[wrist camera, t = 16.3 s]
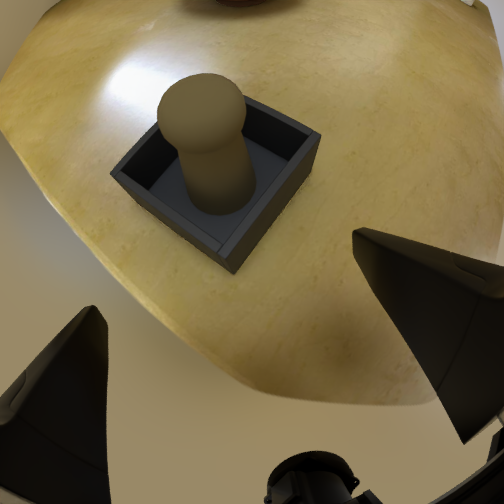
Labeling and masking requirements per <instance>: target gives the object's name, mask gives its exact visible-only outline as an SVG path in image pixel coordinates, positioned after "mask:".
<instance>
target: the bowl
mask: <svg viewBox="0 0 504 504" xmlns="http://www.w3.org/2000/svg"><path fill="white" fill-rule="evenodd" d="M216 1H217V2H218V3H220V4H222V5H226V6H235V7H241V6H251V5H256V4H260V3H262V2H264V1H266V0H216Z"/></svg>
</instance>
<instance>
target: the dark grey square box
mask: <svg viewBox="0 0 504 504" xmlns="http://www.w3.org/2000/svg"><path fill="white" fill-rule="evenodd" d="M243 96H244V100H245V104H246V117H245V121H244V125H243V128H242V130H241V132H242V135H243V138H244V141H245V144H246V147H247V150H248V153H249V156H250V159H251V162H252V165H253V168H254V171H255V176H256V181H257V183H256V189H255V193H254V195H253V196H252V198H251V200H250V202H248V203H247V204H246V205H245V206H244V207H243V208H242V209H240V210H238V211H236V212H234V213H232V214H227V215H221V216H218V215H210V214H207V213H205V212H202V211H200V210H199V209H198V208H197V207H195V206H194V205H193V204H192V202H191V200H190V198H189V196H188V193H187V189H186V185H185V181H184V177H183V172H182V168H181V164H180V159H179V155H178V150H177V149H176V148H175V147H174V146H173V145H172V144H170V143H169V142H168V141H167V140H166V139H165V138H164V136H163V134H162V133H161V130H160V128H159V126H158V122H156V123H155V124H154V125H153V126H152V127H151V128H150V129H149V130H148V131H147V132H146V133H145V134H144V135H143V136H142V137H141V138H140V139H139V141H138V142H137V143H136V144H135V145H134V146H133V147H132V148H131V149H130V150H129V151H128V152H127V154H126V155H125V156H124V157H123V158H122V159H121V160H120V161H119V163H118V164H117V165H116V166H115V167H114V168H113V170H112V171H111V172H110V175H111V176H112V177H113V178H114V179H115V180H116V181H117V182H118V183H119V184H120V185H121V186H122V188H123V189H124V190H125V191H126V192H127V193H128V194H129V195H130V196H131V197H132V198H133V199H134V200H135V201H136V202H137V203H138V204H140V205H141V206H142V207H144V208H145V209H146V210H148V211H149V212H150V213H151V214H153V215H154V216H155V217H157V218H158V219H159V220H161V221H162V222H163V223H165V224H166V225H167V226H168V227H170V228H171V229H172V230H174V231H175V232H176V233H178V234H179V235H180V236H182V237H183V238H184V239H186V240H187V241H188V242H190V243H191V244H192V245H194V246H195V247H197V248H198V249H199V250H201V251H202V252H203V253H205V254H206V255H207V256H209V257H210V258H211V259H213V260H214V261H216V262H217V263H218V264H220V265H221V266H222V267H224V268H225V269H226V270H228V271H229V272H231V273H232V274H233V275H234V274H235V273H236V272H237V270H238V269H239V268H240V266H241V265H242V264H243V262H244V261H245V260H246V258H247V257H248V256H249V254H250V253H251V252H252V250H253V249H254V248H255V246H256V245H257V244H258V242H259V241H260V239H261V238H262V237H263V235H264V234H265V233H266V231H267V230H268V229H269V227H270V226H271V225H272V223H273V222H274V221H275V219H276V218H277V217H278V215H279V214H280V213H281V211H282V210H283V209H284V207H285V206H286V205H287V203H288V202H289V200H290V199H291V198H292V196H293V195H294V194H295V192H296V191H297V190H298V188H299V187H300V186H301V184H302V183H303V182H304V180H305V179H306V178H307V176H308V175H309V174H310V172H311V170H312V166H313V163H314V160H315V156H316V153H317V149H318V146H319V142H320V139H321V134H319V133H317V132H315V131H313V130H312V129H310V128H309V127H307V126H305V125H303V124H301V123H299V122H298V121H296V120H294V119H292V118H290V117H288V116H286V115H284V114H282V113H280V112H278V111H276V110H274V109H272V108H270V107H268V106H266V105H264V104H262V103H260V102H258V101H256V100H253V99H251V98H249V97H247V96H245V95H243Z"/></svg>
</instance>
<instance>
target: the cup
mask: <svg viewBox="0 0 504 504" xmlns="http://www.w3.org/2000/svg"><path fill="white" fill-rule="evenodd" d="M461 1H462V2H464V3H465V4H467V5H469V6H472V4H473V2H474V1H475V0H461Z"/></svg>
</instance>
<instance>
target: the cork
mask: <svg viewBox="0 0 504 504" xmlns="http://www.w3.org/2000/svg"><path fill="white" fill-rule="evenodd" d="M245 117H246V104H245V100H244V96H243V94H242V92H241V91H240V89H239V88H238V87H237V86H236V84H235V83H233V82H232V81H231V80H229V79H227V78H225V77H224V76H221V75H217V74H208V73H202V74H196V75H192V76H189V77H186V78H184V79H181V80H179V81H178V82H176V83H175V84H173V85H172V86H170V88H169V89H168V90H167V91H166V92H165V93H164V94H163V96H162V99H161V101H160V103H159V106H158V109H157V122H158V126H159V128H160V130H161V133H162V134H163V136H164V138H165V139H166V140H167V141H168V142H169V143H170V144H172V145H173V146H174V147H175V148H176V149H177V150H178V155H179V159H180V164H181V168H182V172H183V177H184V181H185V185H186V189H187V193H188V196H189V198H190V200H191V202H192V204H193V205H194V206H195V207H197V208H198V209H199V210H200V211H202V212H205V213H207V214H210V215H218V216H221V215H227V214H232V213H234V212H236V211H238V210H240V209H242V208H243V207H244V206H245V205H246V204H247V203H248V202H250V200H251V198H252V196H253V195H254V193H255V189H256V183H257V181H256V176H255V171H254V168H253V165H252V162H251V159H250V156H249V153H248V150H247V147H246V144H245V141H244V138H243V135H242V132H241V130H242V128H243V125H244V121H245Z"/></svg>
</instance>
